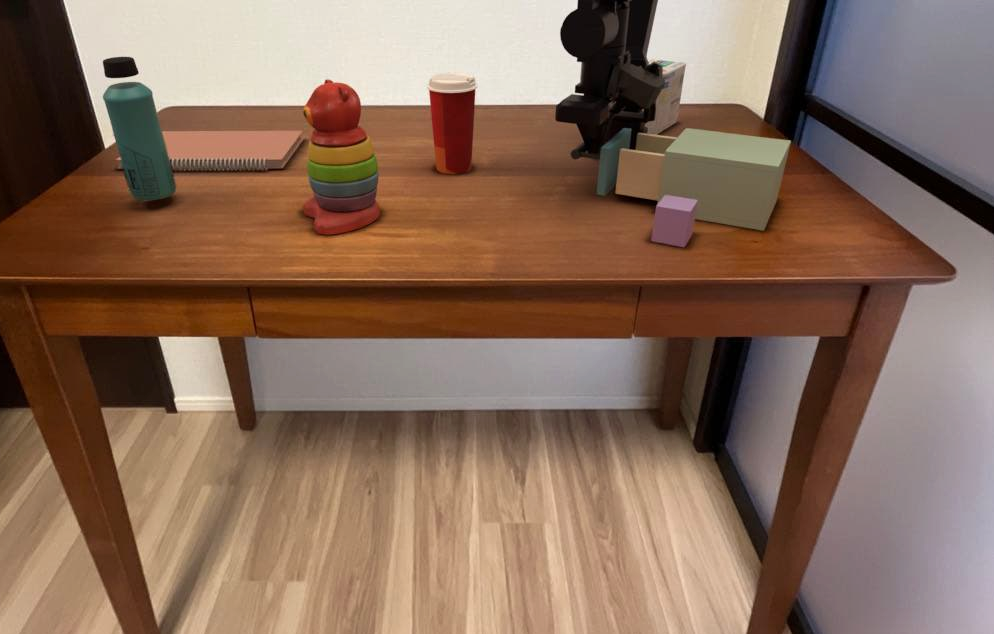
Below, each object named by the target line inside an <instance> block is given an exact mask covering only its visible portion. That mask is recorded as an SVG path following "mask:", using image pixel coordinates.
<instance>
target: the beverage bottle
mask: <svg viewBox="0 0 994 634" xmlns="http://www.w3.org/2000/svg"><path fill="white" fill-rule="evenodd" d="M102 66H103V73H104V76H105V78H107V79H125V78H130V77H135V76H137V75H139V74H140V73H139V69H138V67H137V63H136V61H135V59H134V58H133V57H132V56H113V57H109V58H105V59H103V60H102ZM102 100H103V101H104V105H105V107H106V111H107V115H108V118H109V122H110V126H111V130H112V134H113V137H114V140H115V143H116V147H117V151H118V155H119V157H118V158H120V157H121V160H120V161H121V162H122V164H123V166H122V168H124V169H122V172H123V175H124V179H125V182H126V185H127V188H128V191H129V193H130V194H131V196H132V197H133V199H135V200H138V201H144V202H145V201H146V202H147V201H156V200H162V199H165V198H169V197H171V196H172V195H174V194H175V193H176V190H177V186H178V185H177V182H176V179H175V174H174V169H171V167H172V165H170V163H171V161H169V159H170V158H169V157H168V152H167V150H168V149H166V144H165V143H166V142H165V141H164V137H163V133H162V131H163V130H162V127H161V122H160V120H159V116H158V112H157V111H158V110H157V108H156V105H155V99H154V96H153V91H152V90H151V88H149V86H147V85H145V84H143V83H142V82H139V81H123V82H117V83H114V84H111V85H109V86H108V87H107V88H106V90H105V91H104V92H103V94H102Z"/></svg>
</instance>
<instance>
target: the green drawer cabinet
mask: <svg viewBox="0 0 994 634" xmlns="http://www.w3.org/2000/svg"><path fill="white" fill-rule="evenodd" d="M791 143H792V141H791V140H789V139H780V138H770V137H763V136H756V135H746V134H739V133H732V132H731V133H730V132H722V131H716V130H715V131H714V130H705V129H698V128H689V127H686V128H685V129H684V130H683V131H682V132H681V133H680V134H679V135H678V136H677V139H676V140H675V141H674V142H673V143H672V144H671V145H670V146H669V147H668V149H667V150H666V151H665V156H664V163H663V170H662V177H661V184H660V190H659V197H658V201H657V204H658V203H659V202H660V201H661V199H662V198H663V197H664V196H665V195H670V196H676V197H682V198H688V199H695V200H698V205H697V210H696V216H695V220H698V221H702V222H703V221H704V222H709V223H710V222H711V223H716V224H721V225H727V226H734V227H739V228H744V229H750V230H756V231H763V232H764V231H765V229H766V227H767V224H768V222H769V220H770V217H771V215H772V213H773V210H774V208H775V206H776V203H777V202H778V197H779V192H780V189H781V185H782V180H783V176H784V174H785V173H784V172H785V167H786V164H787V160H788V156H789V152H790V148H791Z"/></svg>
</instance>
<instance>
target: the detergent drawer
mask: <svg viewBox="0 0 994 634" xmlns="http://www.w3.org/2000/svg"><path fill="white" fill-rule="evenodd" d="M630 138H631V129H629V128H623V129H622V130H621V131H620V132H619V133H617V134H616V135H615V136H614V137H613V138H612V139H610V140H609V141H608V142H604V143H603V146H602V147H601V154H593V153H588V152H587V149H586V147H585V144H584V141H583V142H581V143H580V144H579V145H578V146H576V147H575V148H574V149H573V150H572V151H571V152H570V156H571V158H572V159H573V160H578V159H580V158H586V159H591V160H599V165H598V166H599V167H598V176H597V187H596V195H598V196H606V195H607V194H608V193H609V192H610V191H611V190H612V189H613V188H614V187H615V193H614V194H616V195H622V196H627V197H633V198H640V199H644V200H645V199H646V200H652V201H657V202H658V197H659V190H660V184H661V177H662V170H663V163H664V156H665V151H666V150H667V149H668V147H669V146H670V145H671V144H672V143H673V142H674V141H675V140H676V139H677V138H678V136H677V137H676V136H668V135H663V134H662V135H661V134H657V135H654V134H646V133H638V134H637V141H636V150H630V149H629V146H630Z"/></svg>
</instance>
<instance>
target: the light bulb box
mask: <svg viewBox="0 0 994 634" xmlns="http://www.w3.org/2000/svg"><path fill="white" fill-rule="evenodd" d="M648 62H649V65H650V64H651V63H652V62H656V63H658V64H660V65H662V66H663V76H662V78H663V77H664V78H666V79H665V84H664V88H663V89H662V90H661V92H660V94H659V96H658V98H657V100H656V115H655V120H654V121H649V122H648V123H645V127H647V128H648V132H647V134H654V135H659V134H660V133H662V132H664V131H665V130H667V129H668V128H670V127H672V126H673V125H674V124H676V123H678V118H679V112H680V106H681V100H682V99H681V98H682V93H683V92H682V91H683V86H684V85H683V84H684V79H685V72H686V68H687V63H686V62H683V61H681V62H680V61H671V60H663V59H662V60H661V59H654V58H653V59H650V60H648ZM642 111H644V109H643V110H642Z"/></svg>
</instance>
